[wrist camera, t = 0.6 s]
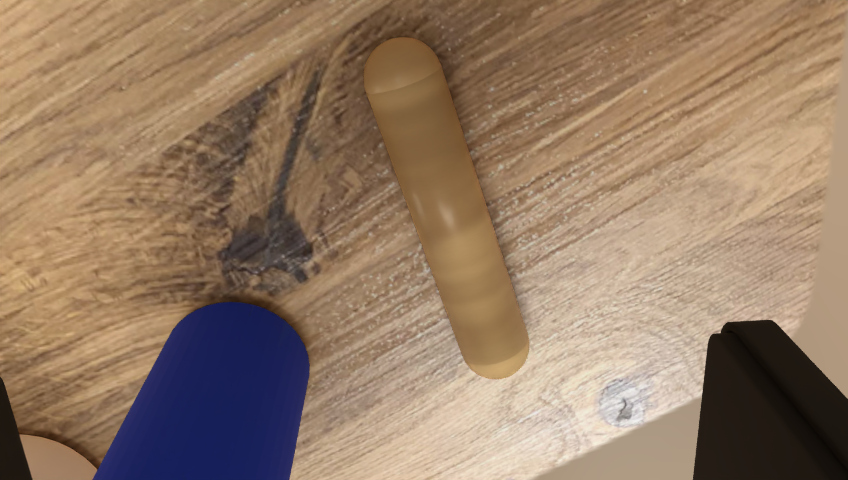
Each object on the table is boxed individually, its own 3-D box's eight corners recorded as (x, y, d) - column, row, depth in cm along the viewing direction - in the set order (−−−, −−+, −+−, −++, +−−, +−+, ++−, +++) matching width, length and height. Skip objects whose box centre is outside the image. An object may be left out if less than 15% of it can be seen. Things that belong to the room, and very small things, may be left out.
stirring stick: (353, 46, 24) (349, 60, 22) (427, 20, 24) (430, 32, 22) (469, 363, 29) (475, 401, 27) (531, 344, 28) (542, 381, 26)
